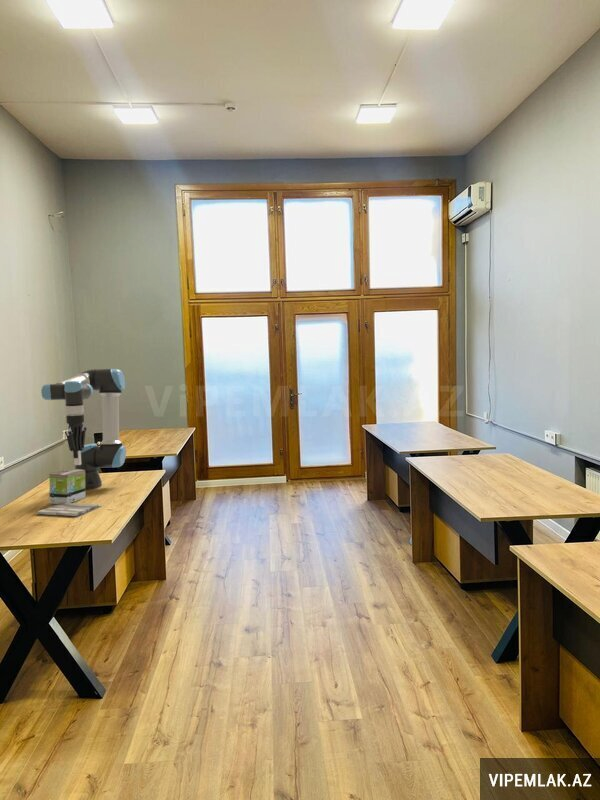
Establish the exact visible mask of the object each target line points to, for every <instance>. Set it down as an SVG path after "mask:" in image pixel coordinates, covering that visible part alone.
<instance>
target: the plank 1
mask: <svg viewBox="0 0 600 800" xmlns="http://www.w3.org/2000/svg"><path fill="white" fill-rule="evenodd" d="M65 509H68V508H51V506H49V507H47V508H43V509H40V510H37V513H36V514H48V515H57V512H59V511H62V510H65Z"/></svg>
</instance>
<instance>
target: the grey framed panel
mask: <svg viewBox="0 0 600 800" xmlns="http://www.w3.org/2000/svg"><path fill="white" fill-rule="evenodd" d="M102 507H103V506H102V505H98V508H95V509H93V510H91V511H89V512H86V513H83V514H80V515H77V516H66V515H48V514H37V513H36V514H35V516H42V517H59V518H61V517H62V518H74V519H75V518H77V519H78V518H80V517H82V516H85V515H86V514H89V513H92V512H93V511H96V510H98V509H99V508H102Z"/></svg>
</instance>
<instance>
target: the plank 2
mask: <svg viewBox="0 0 600 800" xmlns="http://www.w3.org/2000/svg"><path fill="white" fill-rule="evenodd" d="M86 512H87V509H69V508H68V509H65V510H62V511H59V512H57V515H66V516H77V515H80V514H83V513H86Z"/></svg>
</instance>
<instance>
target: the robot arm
mask: <svg viewBox="0 0 600 800" xmlns="http://www.w3.org/2000/svg"><path fill="white" fill-rule="evenodd" d="M125 379H126V378H125V376H124V373H123V372H122V370H120V369H118V368H106V369H105V368H103V369H101V368H100V369H97V368H95V369H88V370H85V371H82V372H79V373H76V374H75V375H73V376H72V377H70V378H68V379H65V380H63V381H59V382H56V383H53V384H51V383H48V384H43V386H42V387H41V392H40V393H41V397H42V398H43V400H45V401H58V400H59V401H63V400H64V402H65V413H66V417H65V418H66V424H68V430H65V432H64V434H65V436H66V440H67V445H68V448H69V451H70V452H72V453H73V463H74V464H73V465H74V469H79V470H85V490H92V489H96V488H100V487H102V486H103V481H102V479H101V476H100V473H99V468H112V469H113V468H120V467H122V466H123V465H124V463H125V461H126V457H127V448H126V446H125V445H123V442H122V441H121V440H120V400H119V399H120V396H121V395H122V391H124V390H125V388H126V380H125ZM94 391H98V393H99V395H100V396H101V399H102V410H101V411H102V441H101V442H100V443H99V446H98V443H87V444H85V439H86V431H87V429H88V428H87V427H85V426H84V424H83V423H85V415H84V413H85V408H84V400H87V399H89V398H91V397H92V396H93V394H94Z"/></svg>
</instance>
